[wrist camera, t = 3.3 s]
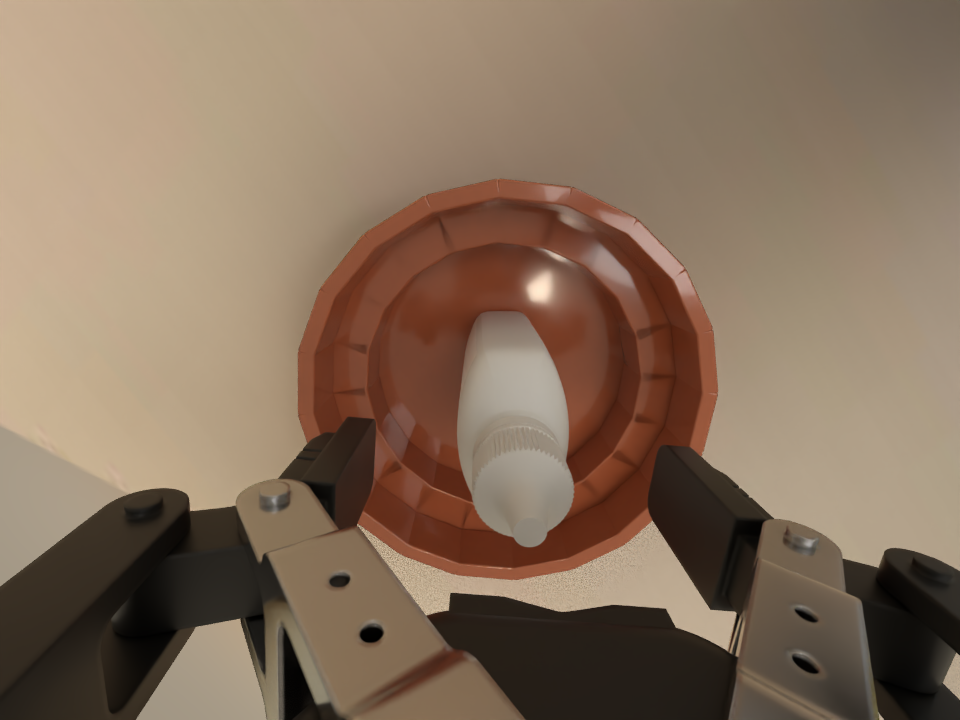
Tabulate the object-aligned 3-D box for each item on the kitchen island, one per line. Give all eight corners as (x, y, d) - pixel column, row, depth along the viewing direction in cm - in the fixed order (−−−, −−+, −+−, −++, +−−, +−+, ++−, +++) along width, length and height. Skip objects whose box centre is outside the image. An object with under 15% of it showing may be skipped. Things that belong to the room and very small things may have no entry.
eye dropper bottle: (431, 397, 21) (373, 590, 9) (489, 293, 20) (504, 366, 8) (511, 438, 22) (550, 668, 10) (572, 339, 20) (699, 469, 9)
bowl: (343, 177, 19) (296, 155, 14) (694, 216, 19) (766, 208, 14) (335, 494, 23) (297, 562, 18) (628, 520, 23) (667, 594, 18)
